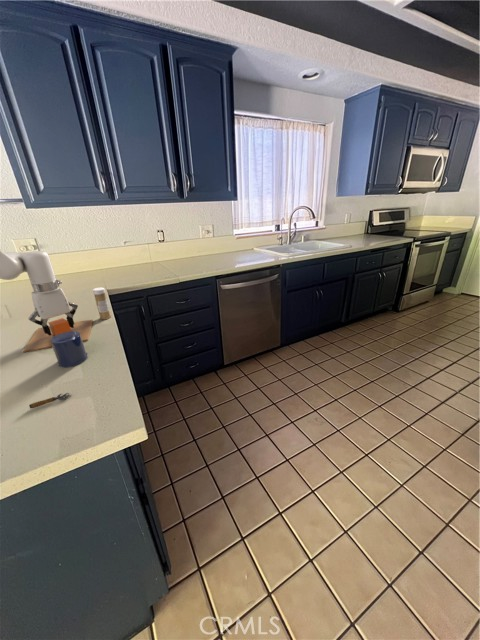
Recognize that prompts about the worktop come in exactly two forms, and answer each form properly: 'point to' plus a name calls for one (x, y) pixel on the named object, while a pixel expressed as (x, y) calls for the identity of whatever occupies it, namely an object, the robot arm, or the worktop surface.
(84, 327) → the wooden cutting board
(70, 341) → the navy cup
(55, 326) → the orange block
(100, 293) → the sprinkles bottle
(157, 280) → the worktop surface
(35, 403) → the fork
